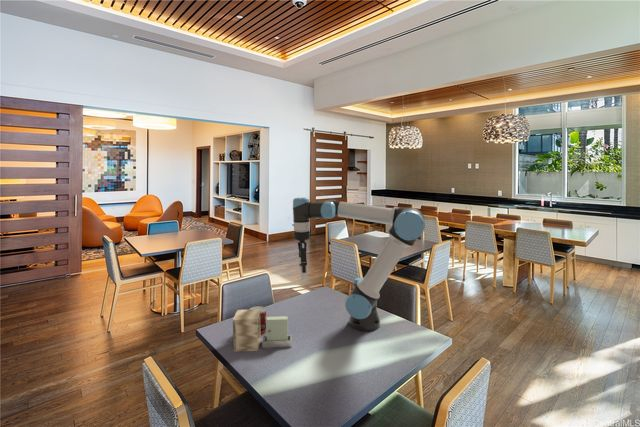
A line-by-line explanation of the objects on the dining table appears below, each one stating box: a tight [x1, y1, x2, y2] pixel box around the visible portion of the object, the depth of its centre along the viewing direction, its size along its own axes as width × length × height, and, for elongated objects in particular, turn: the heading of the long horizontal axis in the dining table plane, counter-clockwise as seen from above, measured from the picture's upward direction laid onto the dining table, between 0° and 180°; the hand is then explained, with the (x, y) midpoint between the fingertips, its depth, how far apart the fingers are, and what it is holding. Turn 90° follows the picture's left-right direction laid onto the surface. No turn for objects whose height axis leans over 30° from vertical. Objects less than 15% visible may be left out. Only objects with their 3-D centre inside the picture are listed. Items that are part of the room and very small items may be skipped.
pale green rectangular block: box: [266, 315, 289, 341], centre depth 142 cm, size 9×4×12 cm, turn 94°
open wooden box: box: [232, 308, 262, 352], centre depth 142 cm, size 10×10×14 cm
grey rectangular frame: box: [261, 334, 293, 349], centre depth 143 cm, size 13×6×3 cm, turn 94°
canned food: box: [248, 305, 267, 336], centre depth 154 cm, size 8×8×11 cm
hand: (303, 274), depth 155 cm, fingers open, 13 cm apart
